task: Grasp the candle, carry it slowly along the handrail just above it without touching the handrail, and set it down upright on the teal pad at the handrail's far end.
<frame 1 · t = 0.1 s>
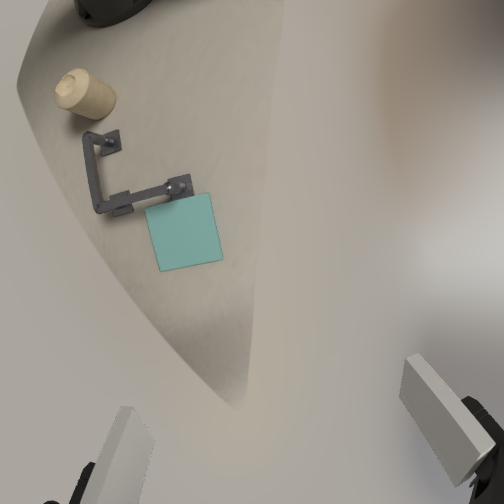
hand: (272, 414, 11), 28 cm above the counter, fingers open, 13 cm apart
pad: (184, 232, 37), on the counter
candle: (101, 103, 32), on the counter
handrail: (111, 143, 33), on the counter
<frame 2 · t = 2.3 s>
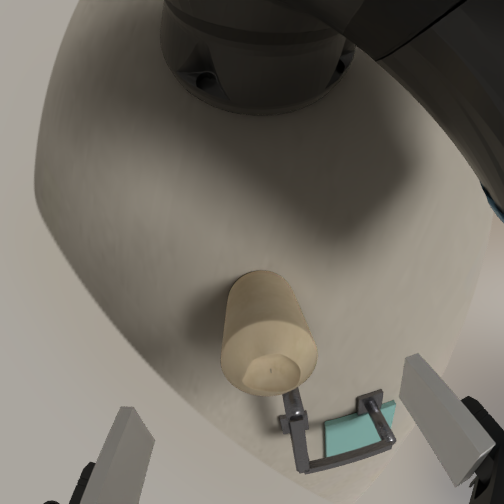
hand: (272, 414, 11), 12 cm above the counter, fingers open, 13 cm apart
pad: (358, 431, 28), on the counter
candle: (260, 300, 23), on the counter
handrail: (284, 363, 25), on the counter
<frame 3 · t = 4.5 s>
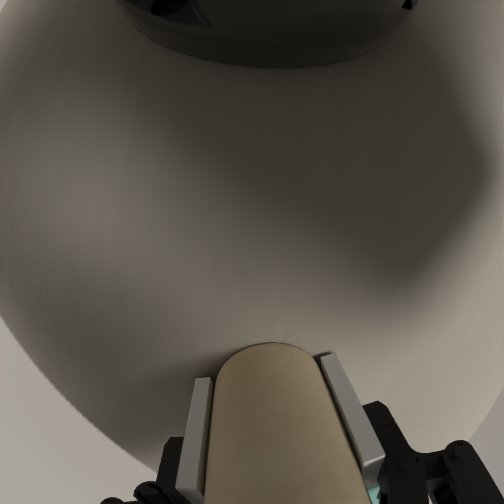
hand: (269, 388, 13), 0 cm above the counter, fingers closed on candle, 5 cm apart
pad: (380, 492, 19), on the counter
candle: (268, 381, 13), on the counter, touching gripper
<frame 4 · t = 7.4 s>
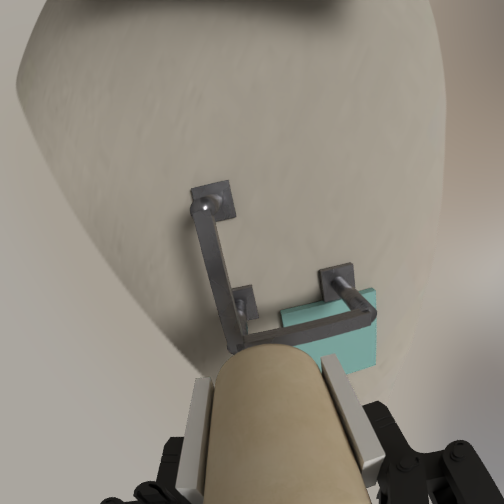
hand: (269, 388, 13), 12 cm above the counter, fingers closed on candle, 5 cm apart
pad: (332, 339, 26), on the counter
candle: (268, 382, 13), point 11 cm above the counter, touching gripper
handrail: (214, 202, 22), on the counter
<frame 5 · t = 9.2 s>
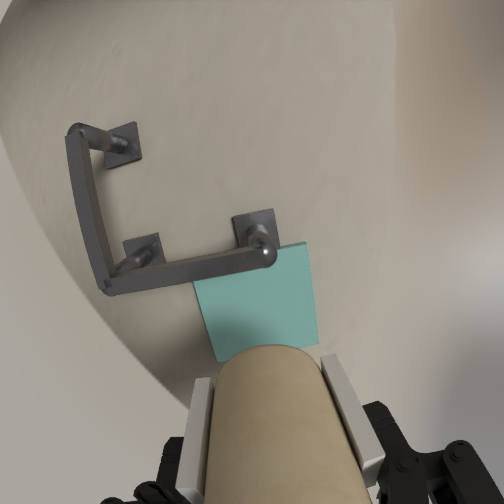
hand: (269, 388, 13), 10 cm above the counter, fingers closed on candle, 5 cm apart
pad: (258, 305, 23), on the counter
candle: (268, 382, 13), point 10 cm above the counter, touching gripper
handrail: (122, 145, 19), on the counter
when the fingers open (3 cm above the counter, at t = 10.7 s): candle drops 2 cm, resting on pad.
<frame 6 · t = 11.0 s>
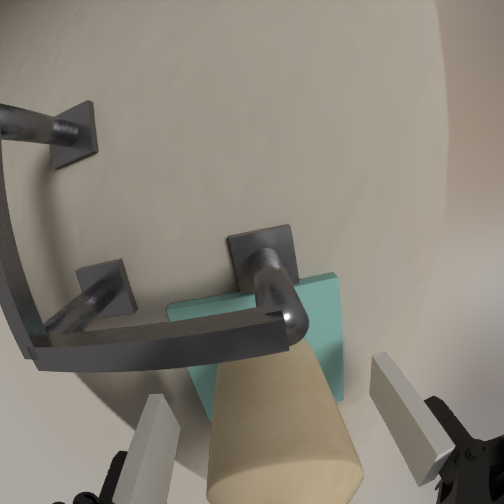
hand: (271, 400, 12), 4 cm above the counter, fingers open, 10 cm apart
pad: (265, 357, 16), on the counter
candle: (266, 363, 15), point 1 cm above the counter, touching pad
handrail: (74, 135, 12), on the counter
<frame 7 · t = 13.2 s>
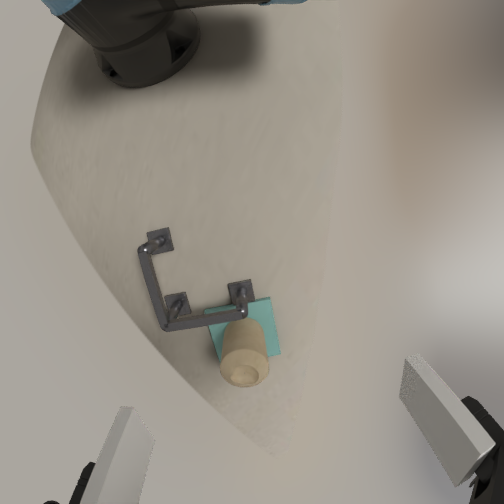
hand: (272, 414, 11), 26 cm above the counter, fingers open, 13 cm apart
pad: (243, 331, 39), on the counter
candle: (244, 333, 38), point 1 cm above the counter, touching pad
handrail: (160, 240, 35), on the counter
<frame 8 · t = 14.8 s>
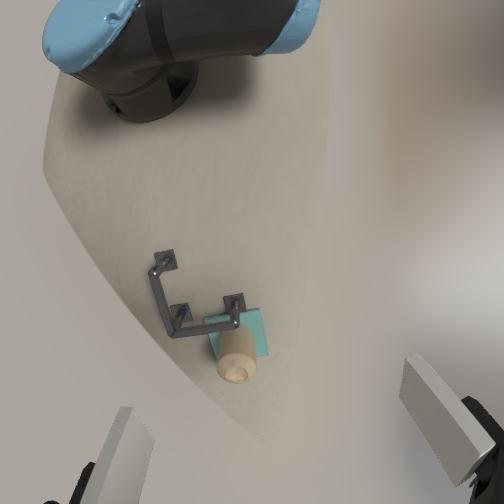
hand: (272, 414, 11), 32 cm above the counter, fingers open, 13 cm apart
pad: (237, 335, 45), on the counter
candle: (237, 337, 45), point 1 cm above the counter, touching pad
handrail: (166, 260, 42), on the counter
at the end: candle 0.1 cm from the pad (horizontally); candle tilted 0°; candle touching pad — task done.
